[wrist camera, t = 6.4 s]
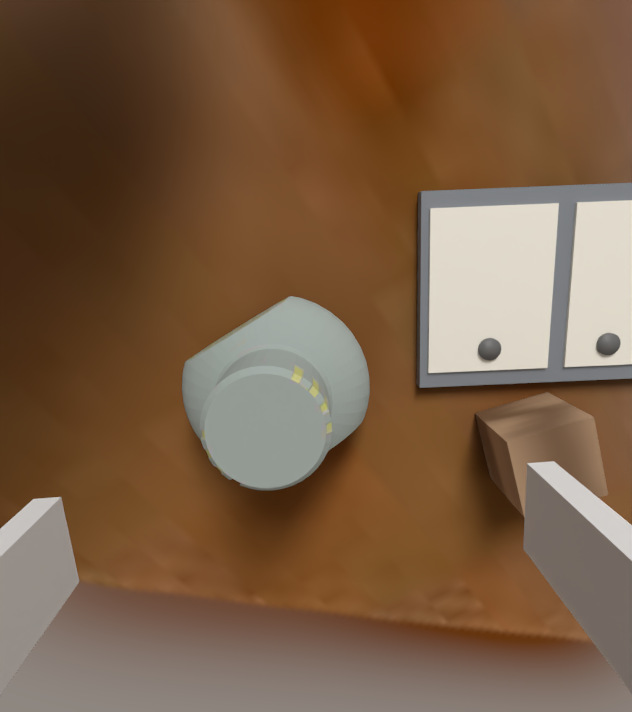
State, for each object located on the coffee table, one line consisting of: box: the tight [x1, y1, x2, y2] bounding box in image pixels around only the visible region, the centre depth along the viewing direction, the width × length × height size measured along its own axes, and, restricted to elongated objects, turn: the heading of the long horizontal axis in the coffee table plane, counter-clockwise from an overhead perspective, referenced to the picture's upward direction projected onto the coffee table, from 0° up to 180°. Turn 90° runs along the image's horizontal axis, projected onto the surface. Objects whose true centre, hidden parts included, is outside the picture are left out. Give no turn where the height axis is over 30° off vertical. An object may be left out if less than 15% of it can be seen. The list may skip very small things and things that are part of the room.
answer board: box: [417, 183, 632, 388], centre depth 27 cm, size 26×12×1 cm, turn 92°
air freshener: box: [182, 296, 370, 491], centre depth 24 cm, size 11×8×10 cm
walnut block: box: [475, 392, 608, 518], centre depth 28 cm, size 5×5×5 cm
